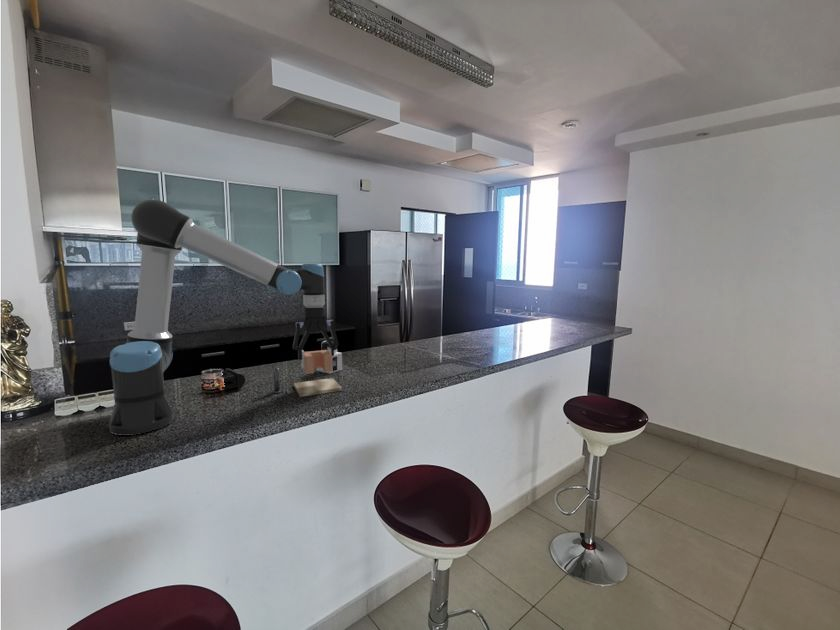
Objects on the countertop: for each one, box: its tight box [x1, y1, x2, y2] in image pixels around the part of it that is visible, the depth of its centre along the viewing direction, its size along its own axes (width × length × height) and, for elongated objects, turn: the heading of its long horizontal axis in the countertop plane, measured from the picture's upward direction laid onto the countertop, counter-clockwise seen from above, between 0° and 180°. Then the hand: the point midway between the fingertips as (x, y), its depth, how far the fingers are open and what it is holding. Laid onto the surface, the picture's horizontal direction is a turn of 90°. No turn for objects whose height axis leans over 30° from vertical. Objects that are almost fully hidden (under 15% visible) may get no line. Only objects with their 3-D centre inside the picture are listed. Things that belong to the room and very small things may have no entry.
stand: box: [272, 367, 282, 395], centre depth 139 cm, size 3×3×9 cm
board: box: [293, 377, 343, 398], centre depth 144 cm, size 15×13×1 cm
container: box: [316, 339, 343, 375], centre depth 167 cm, size 8×8×13 cm
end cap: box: [220, 368, 246, 394], centre depth 143 cm, size 10×7×7 cm
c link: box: [303, 349, 332, 375], centre depth 143 cm, size 9×9×6 cm
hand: (316, 366), depth 144 cm, fingers closed on c link, 9 cm apart
